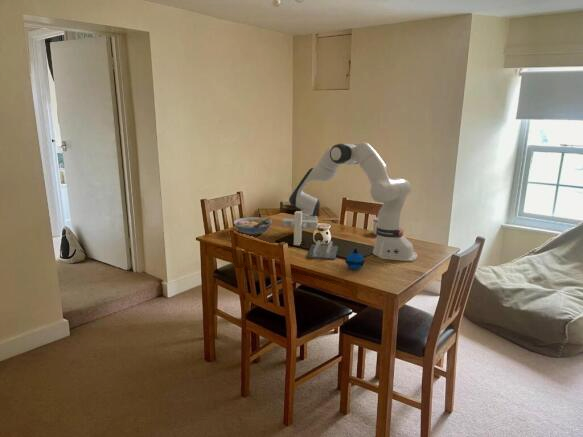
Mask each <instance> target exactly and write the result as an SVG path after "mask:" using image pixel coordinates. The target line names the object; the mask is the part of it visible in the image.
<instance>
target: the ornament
mask: <svg viewBox="0 0 583 437" xmlns="http://www.w3.org/2000/svg"><path fill="white" fill-rule="evenodd" d="M364 263H365V258H364V256H363V255H362V254H361V252H358V249H357V248H354V250H353V251H352V252H350V253H349V254H347V256H346V257H345V264H346V266H347V267H348V268H349V269H351V270H353V271H356V270H359V269H361V268H362V267H363V266H364Z"/></svg>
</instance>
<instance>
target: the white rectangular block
mask: <svg viewBox="0 0 583 437" xmlns="http://www.w3.org/2000/svg"><path fill="white" fill-rule="evenodd" d="M293 218H294V228H293V246H301V245H300V244H302V243H301V242H302V240H303V238H302V237H303V235H302V232H303V229H302V228H301V225H302V211H301V210H296V211H295V212H294V217H293Z"/></svg>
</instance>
